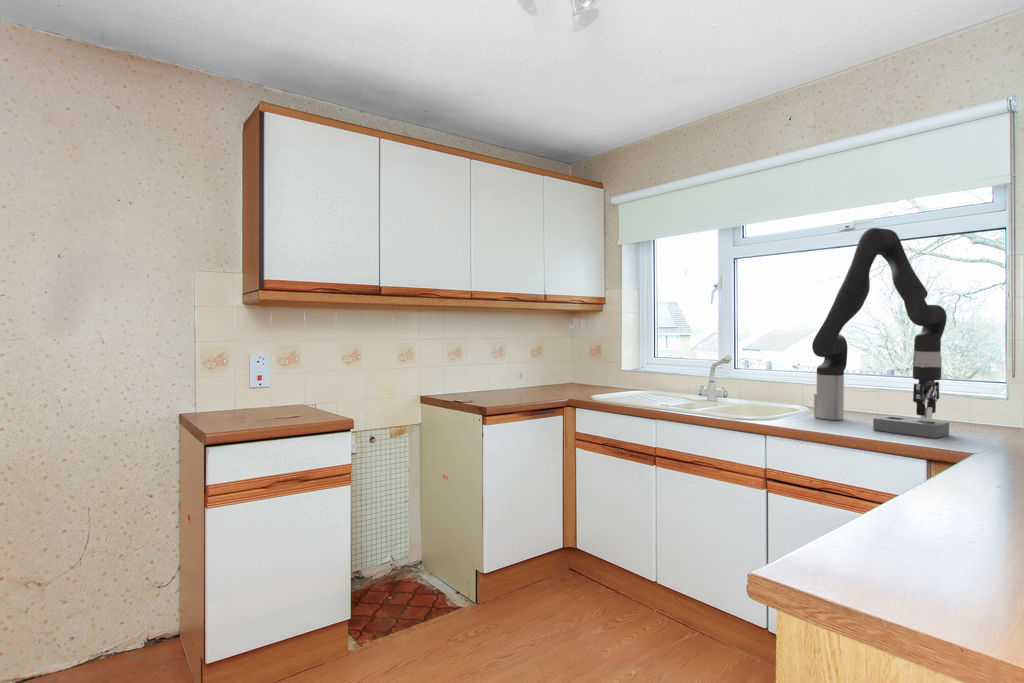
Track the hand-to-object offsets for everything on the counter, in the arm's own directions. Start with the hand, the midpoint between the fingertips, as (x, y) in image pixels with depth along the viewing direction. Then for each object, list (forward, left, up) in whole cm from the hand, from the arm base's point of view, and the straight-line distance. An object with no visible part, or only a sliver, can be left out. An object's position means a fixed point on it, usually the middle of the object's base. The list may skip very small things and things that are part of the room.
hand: (926, 414), depth 180 cm
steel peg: (0, 0, -7) cm, 7 cm away
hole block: (-4, 0, -7) cm, 8 cm away
